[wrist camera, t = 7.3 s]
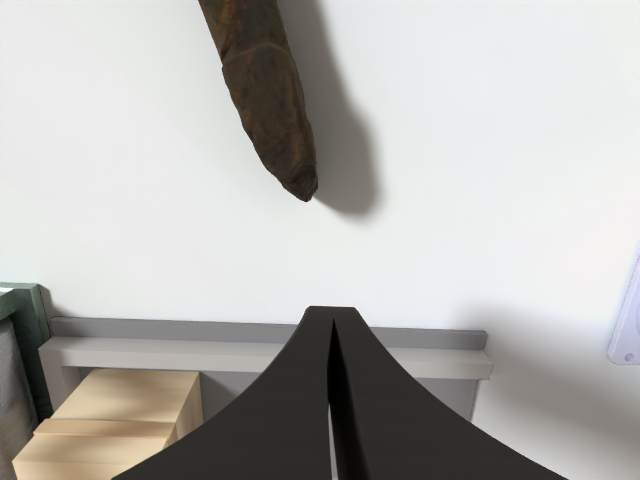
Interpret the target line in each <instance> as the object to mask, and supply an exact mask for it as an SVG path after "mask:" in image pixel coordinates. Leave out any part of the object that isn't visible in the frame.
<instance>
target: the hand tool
mask: <svg viewBox="0 0 640 480" xmlns="http://www.w3.org/2000/svg"><path fill="white" fill-rule="evenodd" d="M198 1H199V4H200V6H201V9H202V11H203V14H204V17H205V19H206V22H207V25H208V27H209V30H210V33H211V35H212V38H213V40H214V43H215V45H216V48H217V51H218V53H219V56H220V59H221V62H222V64H223V67H222V72H223V76H224V80H225V83H226V85H227V87H228V89H229V92H230V95H231V99H232V101H233V103H234V105H235V107H236V109H237V110H238V112H239V115H240V119H241V122H242V126H243V128H244V130H245V132H246V133H247V135H248V136H249V138H250V140H251V141H252V143H253V145H254V148H255V150H256V152H257V154H258V156H259V158H260V159H261V161H262V163H263V165H264V166H265V168H266V169H267V170H268V171H269V172H270V173H271V174H273V175H274V176H275V177H276V178H277V179H278V180H279V182H280V183H281V184H282V186H283V187H284V188H285V189H286V190H287V191H288V192H290V193H291V194H293V195H294V196H296V197H297V198H298V199H300V200H302V201H304V202H308V201H309V200H311V198H312V196H313V194H314V193H315V192H316V190H317V188H318V177H317V172H316V157H315V147H314V140H313V134H312V130H311V125H310V123H309V122H308V120H307V118H306V113H305V103H304V95H303V90H302V86H301V81H300V78H299V74H298V70H297V67H296V65H295V62H294V60H293V58H292V55H291V52H290V49H289V46H288V42H287V38H286V34H285V30H284V27H283V23H282V19H281V16H280V12H279V9H278V5H277V2H276V0H198Z"/></svg>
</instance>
